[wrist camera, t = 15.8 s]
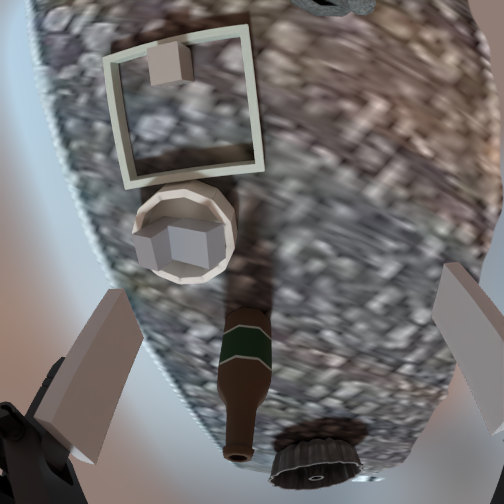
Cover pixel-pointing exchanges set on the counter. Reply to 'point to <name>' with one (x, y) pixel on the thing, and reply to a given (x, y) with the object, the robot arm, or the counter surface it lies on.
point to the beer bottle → (244, 377)
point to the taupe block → (170, 64)
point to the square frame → (121, 124)
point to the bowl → (197, 207)
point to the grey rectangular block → (154, 244)
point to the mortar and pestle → (336, 7)
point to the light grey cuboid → (197, 242)
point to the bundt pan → (315, 465)
